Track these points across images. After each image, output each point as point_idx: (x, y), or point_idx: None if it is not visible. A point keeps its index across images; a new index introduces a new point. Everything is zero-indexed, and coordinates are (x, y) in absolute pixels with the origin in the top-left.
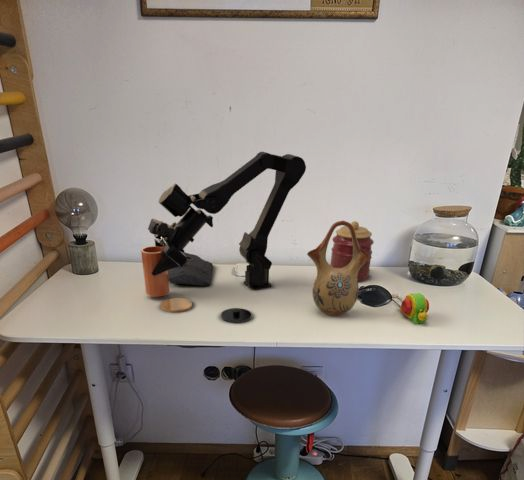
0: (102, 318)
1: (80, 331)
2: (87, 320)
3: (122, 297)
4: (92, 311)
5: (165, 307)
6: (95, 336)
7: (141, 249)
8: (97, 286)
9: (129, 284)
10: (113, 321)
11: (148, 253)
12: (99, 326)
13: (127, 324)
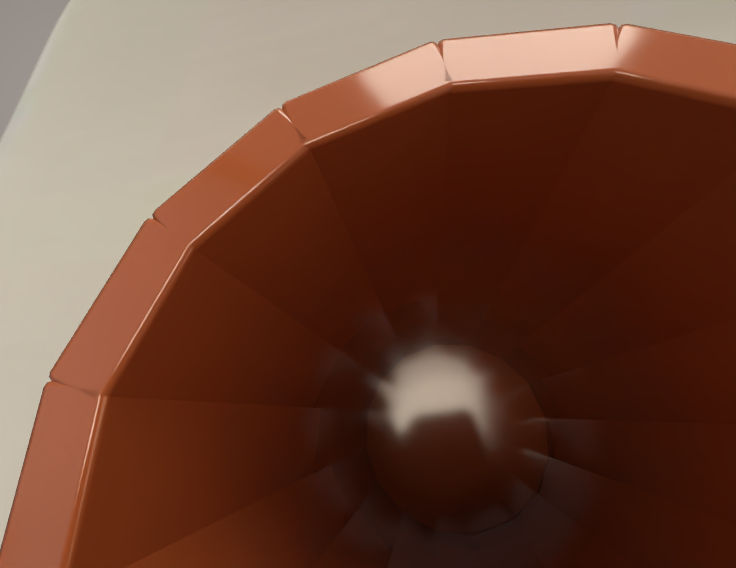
0: (180, 134)
1: (80, 78)
2: (178, 79)
3: None
4: (275, 77)
5: None
6: (12, 140)
7: (595, 25)
8: (660, 23)
9: None
10: (130, 187)
11: (105, 297)
12: (99, 138)
13: (74, 256)
